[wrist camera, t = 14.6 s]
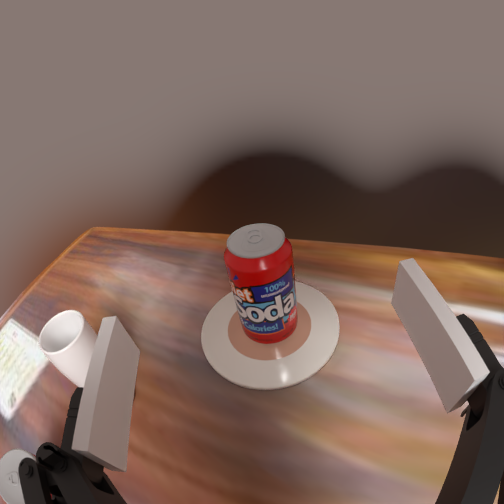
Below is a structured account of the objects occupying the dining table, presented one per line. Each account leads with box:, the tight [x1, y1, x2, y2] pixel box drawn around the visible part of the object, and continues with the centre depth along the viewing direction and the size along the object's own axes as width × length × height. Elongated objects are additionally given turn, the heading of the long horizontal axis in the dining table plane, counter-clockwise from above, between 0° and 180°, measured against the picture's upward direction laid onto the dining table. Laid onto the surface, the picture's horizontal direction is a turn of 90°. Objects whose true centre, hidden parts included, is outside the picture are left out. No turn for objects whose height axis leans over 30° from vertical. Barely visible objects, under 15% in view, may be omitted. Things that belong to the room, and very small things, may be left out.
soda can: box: [224, 223, 298, 344], centre depth 38 cm, size 8×8×15 cm
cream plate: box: [201, 281, 340, 390], centre depth 42 cm, size 20×20×1 cm
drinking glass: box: [39, 310, 134, 400], centre depth 31 cm, size 7×7×15 cm
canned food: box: [0, 449, 52, 504], centre depth 18 cm, size 8×8×11 cm
